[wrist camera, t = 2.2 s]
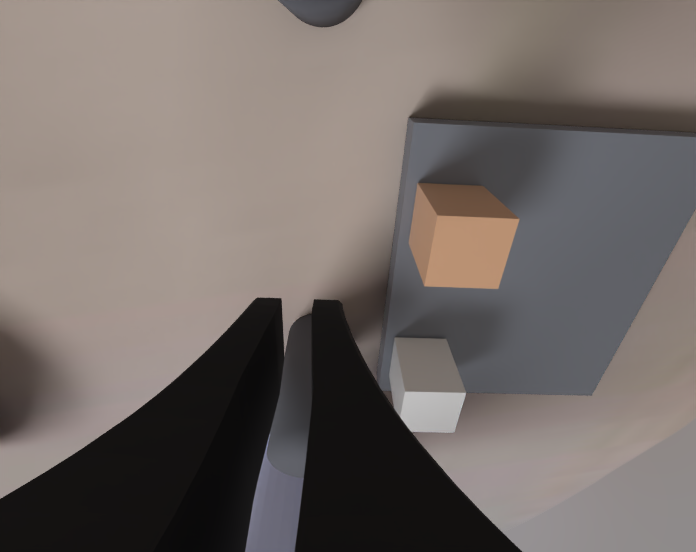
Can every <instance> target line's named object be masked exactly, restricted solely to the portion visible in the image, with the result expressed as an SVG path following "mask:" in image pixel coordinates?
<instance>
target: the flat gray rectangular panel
mask: <svg viewBox="0 0 696 552" xmlns="http://www.w3.org/2000/svg"><path fill="white" fill-rule="evenodd" d="M417 183H432V184H454V185H476V186H484V187H485V188H486V189H487V190H488V191H489V192H490V193H491V194H493V195H494V196H495V197H496V198H497V199H498V200H499V201H500V202H501V203H503V204H504V205H505V206H506V207H507V208H508V209H509V210H510V211H511V212H512V213H514V214H515V215H516V216H517V217H518V218H519V223H518V226H517V229H516V232H515V236H514V239H513V242H512V246H511V249H510V252H509V255H508V259H507V262H506V265H505V268H504V272H503V275H502V278H501V281H500V285H499V288H498V289H486V288H456V287H427V286H424V284H423V281H422V278H421V276H420V273H419V270H418V267H417V265H416V262H415V259H414V256H413V254H412V251H411V248H410V245H409V237H410V230H411V223H412V217H413V210H414V203H415V196H416V190H417ZM695 209H696V133H694V132H675V131H656V130H637V129H617V128H598V127H579V126H560V125H541V124H522V123H503V122H484V121H465V120H446V119H427V118H408V124H407V133H406V141H405V149H404V157H403V165H402V173H401V181H400V189H399V197H398V205H397V213H396V221H395V229H394V237H393V245H392V254H391V262H390V270H389V278H388V286H387V294H386V302H385V310H384V318H383V326H382V334H381V342H380V350H379V358H378V366H377V381H378V385H379V387H380V388H381V390H382V391H391V385H390V378H389V372H390V365H391V358H392V352H393V345H394V338H395V337H400V338H435V339H446V340H447V342H448V345H449V348H450V351H451V353H452V356H453V359H454V361H455V364H456V367H457V369H458V372H459V375H460V377H461V380H462V383H463V385H464V388H465V391H466V393H504V394H548V395H591V396H592V394H593V392H594V390H595V388H596V387H597V385H598V383H599V381H600V379H601V378H602V376H603V374H604V372H605V370H606V369H607V367H608V365H609V363H610V361H611V360H612V358H613V356H614V354H615V352H616V351H617V349H618V347H619V345H620V343H621V342H622V340H623V338H624V336H625V334H626V333H627V331H628V329H629V327H630V326H631V324H632V322H633V320H634V318H635V317H636V315H637V313H638V311H639V309H640V308H641V306H642V304H643V302H644V300H645V299H646V297H647V295H648V293H649V291H650V290H651V288H652V286H653V284H654V282H655V281H656V279H657V277H658V275H659V273H660V272H661V270H662V268H663V266H664V264H665V263H666V261H667V259H668V257H669V255H670V254H671V252H672V250H673V248H674V247H675V245H676V243H677V241H678V239H679V238H680V236H681V234H682V232H683V230H684V229H685V227H686V225H687V223H688V221H689V220H690V218H691V216H692V214H693V212H694V211H695Z"/></svg>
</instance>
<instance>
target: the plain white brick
mask: <svg viewBox="0 0 696 552" xmlns="http://www.w3.org/2000/svg"><path fill="white" fill-rule="evenodd" d="M389 378H390V385H391V391H392V398H393V405H394V409H395V411H396V412H397V413H398V415H399V416H400V418H401V419H402V420H403V422H404V423H405V424H406V426H407V427H408V428H409V430H410V431H411V432H443V433H454V432H455V428H456V425H457V422H458V419H459V415H460V412H461V409H462V406H463V402H464V399H465V396H466V391H465V388H464V385H463V383H462V380H461V377H460V375H459V372H458V369H457V367H456V364H455V361H454V359H453V356H452V353H451V351H450V348H449V345H448V342H447V340H446V339H435V338H400V337H395V338H394V345H393V352H392V358H391V365H390V372H389Z"/></svg>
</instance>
